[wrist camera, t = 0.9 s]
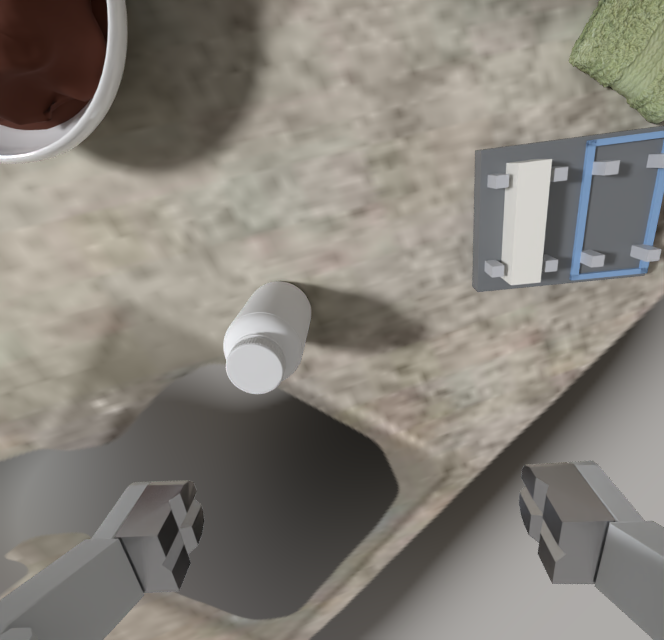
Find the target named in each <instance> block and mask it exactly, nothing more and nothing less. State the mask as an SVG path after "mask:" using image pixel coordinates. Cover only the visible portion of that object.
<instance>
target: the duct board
mask: <svg viewBox="0 0 664 640" xmlns="http://www.w3.org/2000/svg"><path fill="white" fill-rule="evenodd" d="M534 159H552V166H551V176H550V187H549V198H548V208H547V219H546V230H545V240H544V251H543V261H542V272H541V282H540V283H530V284H520V285H510V284H509V283H507V282H506V281H505V280H503V279H502V278H501V277H503V276H504V265H503V264H502V263H501V260H502V240H503V221H504V201H505V188H507V187H509V174H506V163H510V162H518V161H526V160H534ZM663 194H664V126H658V127H650V128H642V129H635V130H627V131H620V132H612V133H605V134H597V135H589V136H582V137H574V138H567V139H559V140H551V141H544V142H536V143H529V144H521V145H514V146H506V147H498V148H491V149H483V150H476V151H475V189H474V235H473V282H472V287H473V288H474V289H475V290H476V291H477V292H483V291H493V290H503V289H513V288H523V287H533V286H543V285H553V284H563V283H573V282H584V281H594V280H604V279H614V278H624V277H634V276H644V275H645V273H647V271H648V266H649V262H650V261H659V258H660V254H661V249H660V248H656V247H653V242H654V237H655V232H656V228H657V223H658V218H659V213H660V208H661V203H662V198H663Z"/></svg>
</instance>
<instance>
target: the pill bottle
mask: <svg viewBox="0 0 664 640" xmlns="http://www.w3.org/2000/svg"><path fill="white" fill-rule="evenodd" d="M310 321H311V306H310V303H309V300H308V298H307V297H306V295H305V294H304V293H303V292H302V291H301V290H300V289H299V288H298V287H296V286H295V285H293V284H290V283H287V282H282V281H275V282H270V283H267V284H264V285H263V286H261V287H260V288H258V289H257V290H256V291H255V292H254V293H253V294H252V296H251V297H250V299H249V300H248V301H247V303H246V304H245V305H244V307H243V308H242V310H241V311H240V312H239V314H238V315H237V316H236V318H235V319H234V321H233V322H232V323H231V325H230V326H229V328H228V329H227V331H226V334H225V337H224V354H225V358H226V372H227V375H228V377H229V379H230V380H231V382H232V383H233V384H234V385H235V386H236V387H238V388H239V389H241V390H242V391H245V392H247V393H252V394H263V393H267V392H270V391H272V390H273V389H275V388H276V387H277V386H279V384H280V382H281V381H283V380H285V379H286V378H288V377H289V376H290V375H291V374H293V373H294V371H295V370H296V369H297V368H298V366H299V364H300V362H301V359H302V355H303V351H304V347H305V342H306V338H307V334H308V330H309V325H310Z"/></svg>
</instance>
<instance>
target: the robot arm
mask: <svg viewBox="0 0 664 640" xmlns="http://www.w3.org/2000/svg"><path fill="white" fill-rule="evenodd" d="M521 478H522V480H523V482H524V484H525V487H524V488H523V489H522V490H521V491H520V494H519V506H520V512H521V516H522V519H523V522H524V525H525V528H526V530H527V532H528V534H529V535H530V536H531V537H532V538H534V539H535V540H536V541H537V542H539V548H538V555H539V557H540V559H541V561H542V563H543V566H544V567H545V570H546V572H547V574H548V576H549V578H550V580H551V582H552V584H595V587H596V588H597V589H598V590H599V591H600V592H602V593H603V594H604V595H605V596H606V597H607V598H608V599H609V600H610V601H612V602H613V603H614V604H615V605H616V606H617V607H618V608H619V609H620V610H622V611H623V612H624V613H625V614H626V615H627V616H628V617H629V618H630V619H631V620H632V621H634V622H635V623H636V624H637V625H638V626H639V627H640V628H641V629H642V630H643V631H645V632H646V633H647V634H648V635H649V636H650V637H651V638H652V639H653V640H664V527H662V526H661V525H659V524H657V523H656V522H654V521H645V520H644V519H643V518H642V517H641V515H640V514H639V513H638V512H637V511H636V509H635V508H634V507H633V506H632V505H631V504H630V502H629V501H628V500H627V499H626V497H625V496H624V495H623V494H622V493H621V491H620V490H619V489H618V488H617V487H616V485H615V484H614V483H613V482H612V481H611V479H610V478H609V477H608V476H607V475H606V473H605V472H604V471H603V470H602V469H601V467H600V466H599V465H598V464H597V463H595V462H594V461H580V462H569V463H567V462H565V463H547V464H529V465H524V467H523V469H522V474H521ZM196 493H197V490H196V488H195V485H194V482H192V481H153V482H134V483H132V484H131V485H129V486H128V487H127V489H126V490H125V492H124V493H123V494H122V496H121V497H120V499H119V500H118V502H117V503H116V504H115V506H114V507H113V509H112V510H111V511H110V513H109V514H108V516H107V517H106V519H105V520H104V522H103V523H102V525H101V526H100V527H99V529H98V530H97V532H96V533H95V534H94V536H93V537H92V539H88V540H84V541H82V542H81V543H80V544H78V545H77V546H75V547H74V548H73V549H71V550H70V551H68V552H67V553H66V554H64V555H63V556H61V557H60V558H59V559H57V560H56V561H54V562H53V563H52V564H50V565H49V566H47V567H46V568H45V569H43V570H42V571H40V572H39V573H38V574H36V575H35V576H33V577H32V578H31V579H29V580H28V581H26V582H25V583H24V584H22V585H21V586H19V587H18V588H17V589H15V590H14V591H12V592H11V593H10V594H8V595H7V596H5V597H4V598H3V599H1V600H0V640H103V639H104V638H105V637H106V636H107V635H108V634H109V633H110V632H111V631H112V630H113V629H114V628H115V626H116V625H117V624H118V623H119V622H120V621H121V620H122V619H123V618H124V617H125V616H126V615H127V613H128V612H129V611H130V610H131V609H132V608H133V607H134V606H135V605H136V604H137V603H138V602H139V600H140V599H141V598H142V597H143V596H144V593H153V592H172V591H180V588H181V586H182V583H183V581H184V578H185V576H186V573H187V571H188V568H189V566H190V564H191V562H190V558H189V555H188V554H189V553H190V552H191V551H192V550H193V549H194V548H195V547H197V545H198V544H199V541H200V538H201V536H202V532H203V526H204V512H203V509H202V505H201V504H200V503H199V502H197V501H196V500H195V499H194V497H195V495H196Z"/></svg>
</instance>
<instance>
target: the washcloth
mask: <svg viewBox="0 0 664 640" xmlns="http://www.w3.org/2000/svg"><path fill="white" fill-rule="evenodd" d="M569 63H570V64H572V65H573V67H574V66H576V67H577V68H578V69H579V70H580V71H582V72H584V73H587V74H589V75H590V77H591V78H594V79H595V80H597V82H599V83H600V85H603V87H608V86H610V87H612V89H613V90H615V91H617V92H618V93H619V94H620V95H623V96H624V97H625V98H627V103H628V104H629V105H630V107H632V108H634V109H637V111H638V112H639V113H640V114H641V115H642V116H643V117H644V118H645V119H646V120H647V121H648V122H650V123H651V122H652V123H654V124H658V123H660V122H662V121H664V0H599V2H598V7H597V8H596V9H595V10H594V11H593V14H592V15H591V17H590V19H589V22H588V23H586V26H585V28H584V30H583V32H582V34H581V35H580V37H579V38H578V40H577V41H576V43H575V45H574V47H573V49H572V53H571V55H570V58H569Z"/></svg>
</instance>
